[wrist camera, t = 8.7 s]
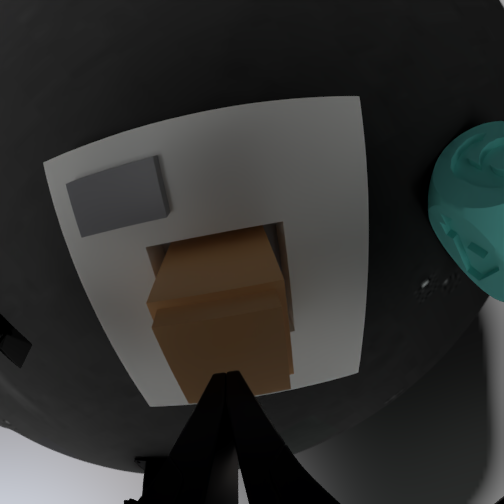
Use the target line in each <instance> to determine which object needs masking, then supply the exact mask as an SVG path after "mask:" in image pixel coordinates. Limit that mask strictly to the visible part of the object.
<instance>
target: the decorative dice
mask: <svg viewBox="0 0 504 504" xmlns="http://www.w3.org/2000/svg"><path fill="white" fill-rule="evenodd" d="M428 216H429V220H430V223H431V226H432V228H433V230H434V232H435V234H436V235H437V237H438V239H439V240H440V242H441V243H442V245H443V246H444V248H445V249H446V251H447V252H448V253H449V255H450V256H451V257H452V258H453V260H454V261H455V262H456V263H457V265H458V266H459V267H460V268H461V269H462V270H463V271H464V272H465V274H466V275H467V276H468V277H469V278H470V279H471V280H472V281H473V282H474V283H475V284H476V285H478V286H479V287H480V288H481V289H482V290H483V291H485V292H486V293H487V294H489V295H490V296H492V297H493V298H495V299H497V300H499V301H502V302H504V121H496V122H489V123H485V124H482V125H479V126H476V127H474V128H471V129H469V130H467V131H466V132H464V133H462V134H461V135H459V136H458V137H457V138H455V139H454V140H453V141H452V142H451V143H450V144H449V145H448V146H447V147H446V148H445V149H444V150H443V152H442V153H441V154H440V156H439V158H438V160H437V162H436V164H435V167H434V170H433V173H432V176H431V180H430V185H429V192H428Z"/></svg>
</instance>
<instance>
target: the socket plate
mask: <svg viewBox="0 0 504 504" xmlns="http://www.w3.org/2000/svg"><path fill="white" fill-rule="evenodd" d="M43 164H44V169H45V173H46V177H47V181H48V185H49V189H50V193H51V197H52V200H53V204H54V207H55V211H56V214H57V217H58V220H59V223H60V226H61V230H62V232H63V235H64V238H65V241H66V244H67V247H68V250H69V252H70V255H71V258H72V260H73V263H74V265H75V268H76V270H77V273H78V275H79V278H80V280H81V282H82V285H83V287H84V289H85V291H86V294H87V296H88V298H89V300H90V302H91V305H92V307H93V309H94V311H95V313H96V315H97V317H98V319H99V321H100V323H101V325H102V327H103V329H104V331H105V333H106V335H107V337H108V338H109V340H110V342H111V344H112V346H113V348H114V349H115V351H116V353H117V355H118V356H119V358H120V360H121V362H122V363H123V365H124V367H125V368H126V370H127V372H128V373H129V375H130V377H131V378H132V380H133V381H134V383H135V385H136V386H137V388H138V389H139V391H140V392H141V394H142V395H143V397H144V398H145V400H146V401H147V403H148V404H149V406H150V407H154V406H175V405H189V403H188V401H187V399H186V398H185V396H184V394H183V392H182V390H181V388H180V386H179V384H178V382H177V380H176V379H175V377H174V375H173V373H172V371H171V369H170V367H169V365H168V362H167V360H166V358H165V356H164V354H163V352H162V350H161V348H160V346H159V343H158V341H157V339H156V337H155V335H154V332H153V330H152V324H153V319H152V316H151V314H150V312H149V309H148V307H147V304H146V302H147V300H148V297H149V294H150V292H151V289H152V287H153V284H154V282H155V279H156V277H157V274H158V272H159V269H160V267H161V264H162V262H163V260H164V257H165V255H166V252H167V250H168V248H169V245H170V243H171V242H174V241H179V240H184V239H189V238H194V237H200V236H205V235H210V234H215V233H221V232H226V231H232V230H237V229H243V228H248V227H254V226H259V225H263V228H264V230H265V232H266V235H267V237H268V240H269V242H270V245H271V247H272V250H273V252H274V255H275V257H276V260H277V262H278V265H279V267H280V270H281V273H282V275H283V278H284V282H285V290H286V299H287V308H288V318H289V327H290V337H291V347H292V357H293V368H294V374H291V375H290V383H291V389H288V390H292V389H297V388H301V387H306V386H310V385H314V384H318V383H322V382H326V381H330V380H334V379H338V378H341V377H345V376H348V375H352V374H355V373H358V371H359V364H360V356H361V348H362V340H363V331H364V321H365V309H366V296H367V278H368V250H369V210H368V181H367V164H366V151H365V140H364V130H363V121H362V112H361V105H360V98H359V96H333V97H311V98H297V99H285V100H275V101H266V102H258V103H251V104H244V105H237V106H231V107H225V108H219V109H214V110H209V111H204V112H199V113H194V114H189V115H185V116H181V117H176V118H172V119H168V120H164V121H160V122H156V123H153V124H149V125H146V126H142V127H139V128H135V129H132V130H129V131H125V132H122V133H119V134H116V135H113V136H110V137H107V138H104V139H101V140H98V141H96V142H93V143H90V144H87V145H85V146H82V147H79V148H77V149H74V150H72V151H69V152H67V153H64V154H62V155H60V156H57V157H55V158H53V159H50V160H48V161H46V162H44V163H43ZM283 391H287V390H283ZM278 392H282V391H278ZM273 393H277V392H273ZM268 394H272V393H268ZM262 395H267V394H262ZM256 396H261V395H256ZM192 404H197V403H192Z"/></svg>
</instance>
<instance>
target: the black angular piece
mask: <svg viewBox="0 0 504 504" xmlns="http://www.w3.org/2000/svg"><path fill="white" fill-rule="evenodd" d="M31 346H32V344H31V343H30V342H29V341H28V340H27V339H26V338H25V337H24V336H23V335H21V334H20V333H19V332H18V331H17V330H16V329H15V328H14V327H13V326H12V325H11V324H10V323H9V322H8V321H7V320H6V319H5V318H4V317H3V316H2V315H1V314H0V351H1V352H2V353H3V354H4V355H5V356H6V357H7V358H8V359H10V360H11V361H12V362H13V363H14V364H15V365H16V366H18V367H19V368H21V367H22V365H23V363H24V360H25V358H26V356H27V354H28V352H29V350H30V348H31Z"/></svg>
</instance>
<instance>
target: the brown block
mask: <svg viewBox="0 0 504 504" xmlns="http://www.w3.org/2000/svg"><path fill="white" fill-rule="evenodd" d="M146 304H147V307H148V309H149V312H150V314H151V316H152V319H153V324H152V330H153V332H154V335H155V337H156V339H157V341H158V343H159V346H160V348H161V350H162V352H163V354H164V356H165V358H166V360H167V362H168V365H169V367H170V369H171V371H172V373H173V375H174V377H175V379H176V380H177V382H178V384H179V386H180V388H181V390H182V392H183V394H184V396H185V398H186V399H187V401H188V403H189V404H192V403H198V401H199V399H200V398H201V396H202V394H203V392H204V390H205V388H206V386H207V384H208V383H209V381H210V379H211V377H212V375H213V374H215V373H221V372H225V373H227V372H229V371H235V370H239V371H240V373H241V374H242V376H243V378H244V379H245V381H246V383H247V384H248V386H249V388H250V389H251V391H252V393H253V394H254V396H256V395H262V394H268V393H273V392H278V391H283V390H288V389H291V383H290V375H291V374H294V368H293V357H292V347H291V337H290V327H289V318H288V308H287V299H286V290H285V282H284V278H283V275H282V273H281V270H280V267H279V265H278V262H277V260H276V257H275V255H274V252H273V250H272V247H271V245H270V242H269V240H268V237H267V235H266V232H265V230H264V228H263V225H259V226H254V227H248V228H243V229H237V230H232V231H226V232H221V233H215V234H210V235H205V236H200V237H194V238H189V239H184V240H179V241H174V242H171V243H170V245H169V248H168V250H167V252H166V255H165V257H164V260H163V262H162V264H161V267H160V269H159V272H158V274H157V277H156V279H155V282H154V284H153V287H152V289H151V292H150V294H149V297H148V300H147V302H146Z"/></svg>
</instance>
